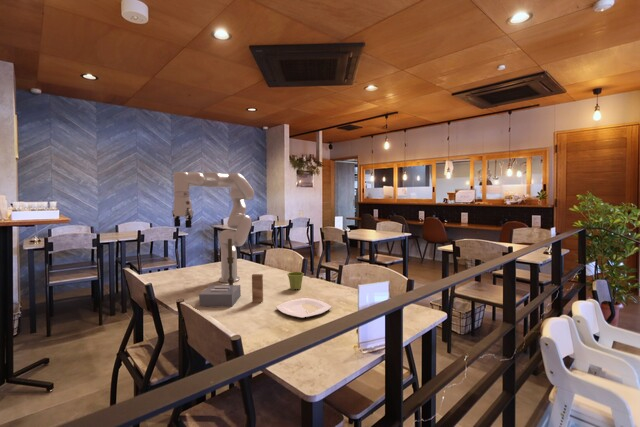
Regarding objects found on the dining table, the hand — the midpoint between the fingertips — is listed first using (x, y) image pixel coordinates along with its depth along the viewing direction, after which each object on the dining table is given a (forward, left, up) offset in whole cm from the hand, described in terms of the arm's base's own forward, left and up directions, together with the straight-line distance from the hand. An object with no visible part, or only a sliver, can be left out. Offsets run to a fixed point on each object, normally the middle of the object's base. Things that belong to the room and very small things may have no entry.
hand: (182, 227), depth 181 cm
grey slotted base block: (+11, +23, -36) cm, 45 cm away
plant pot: (-11, +59, -37) cm, 71 cm away
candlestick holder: (-7, +23, -37) cm, 44 cm away
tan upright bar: (+12, +42, -37) cm, 57 cm away
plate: (+23, +66, -37) cm, 79 cm away
